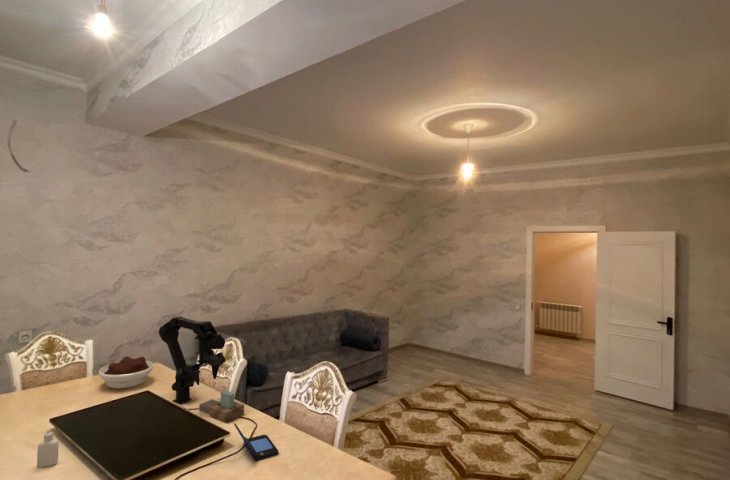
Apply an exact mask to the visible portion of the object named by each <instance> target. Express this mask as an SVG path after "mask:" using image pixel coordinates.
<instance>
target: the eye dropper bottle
mask: <svg viewBox="0 0 730 480" xmlns="http://www.w3.org/2000/svg"><path fill="white" fill-rule="evenodd" d="M59 447H60V446H59V440H58V439H55V438H54V432H53V431H51V429H50V428H49V429H47V432H46V433H45V434H44V435H43V440H42V441H40V442H39V443H38V445H37V449H36V451H37V454H36V455H37V457H36V467H38V466H47V467H51V465H52V466H56V464H57V463H58V462H59Z"/></svg>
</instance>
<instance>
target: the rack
mask: <svg viewBox="0 0 730 480" xmlns="http://www.w3.org/2000/svg"><path fill="white" fill-rule="evenodd" d="M244 415H245V405H244V404H242V403H241V402H240V403H239V402H236V401H234V408H232V409H230V410H229V409H227V408H224V407H221V406H220V403H218V404H215V405H213V406H211V407H210V413H209V414H208V416H209V418H212V419H214V420H217V421H219V422H220V423H221V422H222V423H224V424H228V423H230V422H232V421H234V420H237V419H238V418H240V417H242V416H244Z"/></svg>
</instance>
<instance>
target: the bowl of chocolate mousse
mask: <svg viewBox="0 0 730 480" xmlns="http://www.w3.org/2000/svg"><path fill="white" fill-rule="evenodd" d="M154 365H155V364H154V363H153V362H152V361H149V360H146V358H145V357H144V356H140V357H137V358H132V357H130V356H128V355H127V356H124V357H122V358H121V360H120V361H118V362H113V363H110V364H107V365H105V366H103V367H102V368H100V369H99V371H98V375H99V378H101V380H103V381H104V383H105V385H106V386H107V387H108V388H112V389H127V388H133V387H136V386H139V385H141V384H142V383H144V382H145V381H146V379H147V377H148V376H149V375H150V374H151V372H152V371H153V369H154Z"/></svg>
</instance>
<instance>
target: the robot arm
mask: <svg viewBox="0 0 730 480" xmlns="http://www.w3.org/2000/svg"><path fill="white" fill-rule="evenodd" d="M182 328H183V329H187V330H190V331H192V333H194V334H196V336H195V337H194V339H195V340H198V341H197V342H198V345H197V347H198V351H196V354H197V355H198V359H197V360H196V362H197V363H196V362H192V363H189V364H187V362H186V359H185V357H184V353H183V350H182V348H181V345H180V343H179V335H180V332H179V330H180V329H182ZM158 335H159V337H160V339H161V341H163V342H164V343H165V344H167V347H168V351H169V353H170V356H171V358H172V359H171V360H172V361H173V364H174V367H175V370H176V371H175V376H174V377H175V381H174V382H173V383H172V384H171V389H172V391H174V392H175V399H173V400H172V402H174V403H176V404H178V405H182V404H185V403H188V402H190V401H192V400H193V398H191V392H190V391H191V387H194V385H195V384H196V386H199V385H200V373H201V370H200V369H201V368H203V367H206V366H210V367H211V372H212V378H213V380H216V379H217V377H218V376H217V375H218V373H219V370H220V367H221V366H222V365H224V363H225V362H226V357H225V356H224V353H223V352H218V353H215V350H222V349H224V348H225V345H226V339H225V338H224V337H223V336H222V334H220V333H219V334H218V332H217V330H216V329H215V327H214V325H213V324H212V321H209V320H203V321H202V320H201V321H197V320H194V319H189V318H186V317H183V316H175V317H173V318H171V319H170V320H169V321H168V322H166V323H164V324H163V325H161V326H160V327H159V329H158Z"/></svg>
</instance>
